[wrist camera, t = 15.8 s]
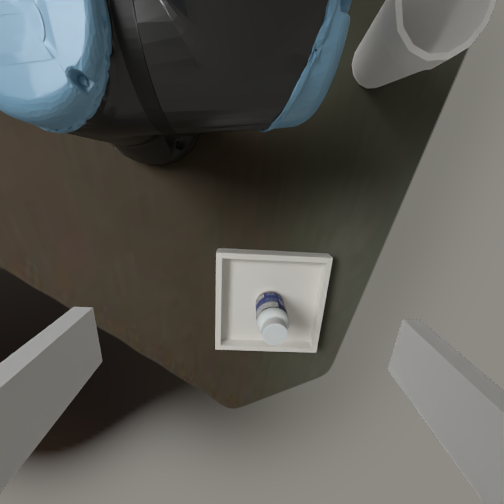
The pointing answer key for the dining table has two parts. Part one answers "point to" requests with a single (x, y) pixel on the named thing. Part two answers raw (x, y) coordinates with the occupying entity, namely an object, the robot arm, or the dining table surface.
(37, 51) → the robot arm
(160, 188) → the dining table surface
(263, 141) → the dining table surface
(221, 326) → the tray
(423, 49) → the foam cup
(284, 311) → the pill bottle
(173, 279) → the dining table surface
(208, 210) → the dining table surface
